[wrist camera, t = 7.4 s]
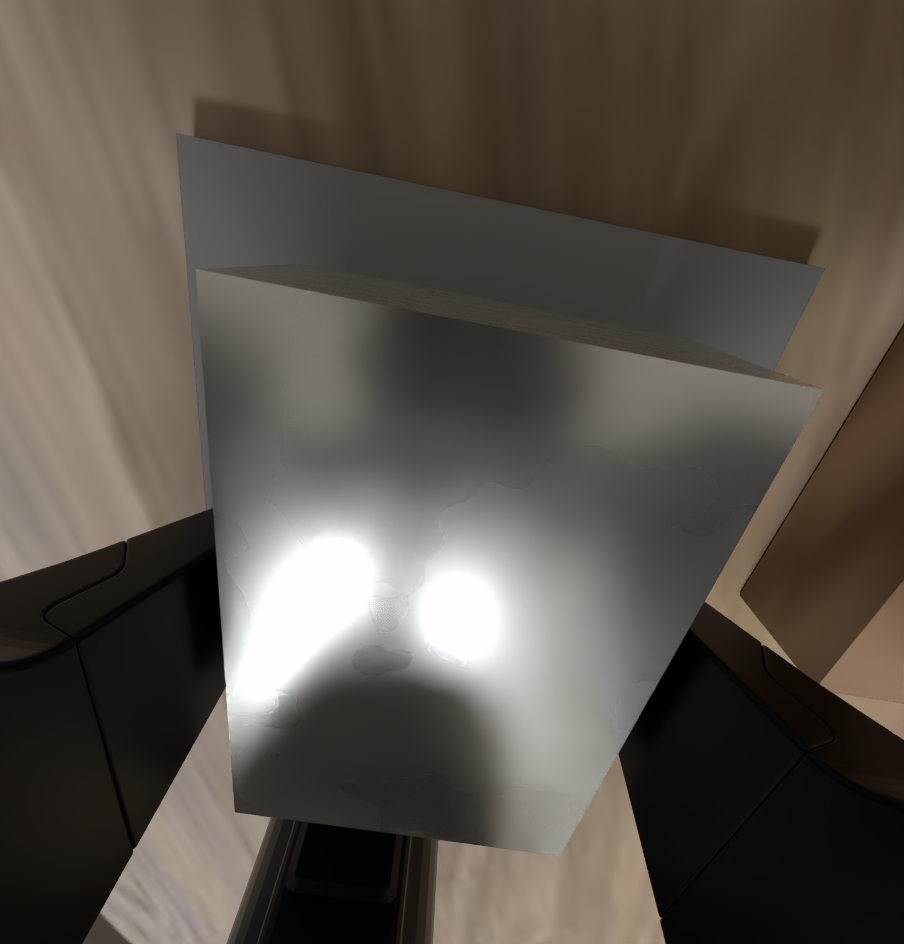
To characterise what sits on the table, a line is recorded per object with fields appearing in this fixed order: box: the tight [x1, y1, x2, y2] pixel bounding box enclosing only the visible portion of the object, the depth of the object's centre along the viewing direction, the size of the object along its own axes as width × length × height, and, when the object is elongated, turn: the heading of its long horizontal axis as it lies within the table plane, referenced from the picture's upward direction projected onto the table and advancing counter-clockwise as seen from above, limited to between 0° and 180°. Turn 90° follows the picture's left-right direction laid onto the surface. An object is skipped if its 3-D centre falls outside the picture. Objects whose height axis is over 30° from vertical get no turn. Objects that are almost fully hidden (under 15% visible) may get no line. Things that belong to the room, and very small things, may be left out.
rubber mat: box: [176, 133, 825, 510], centre depth 11 cm, size 12×12×1 cm
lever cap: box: [196, 264, 824, 856], centre depth 7 cm, size 9×6×3 cm, turn 170°
